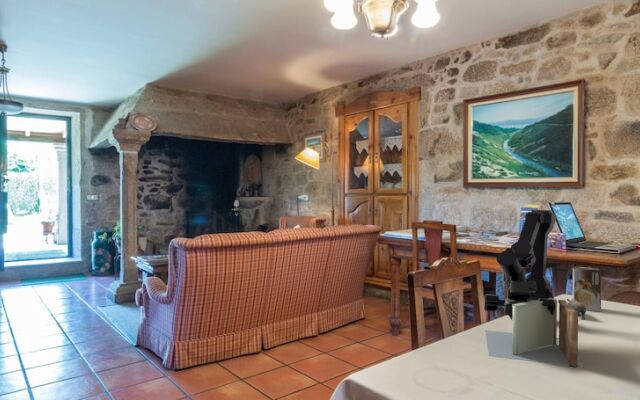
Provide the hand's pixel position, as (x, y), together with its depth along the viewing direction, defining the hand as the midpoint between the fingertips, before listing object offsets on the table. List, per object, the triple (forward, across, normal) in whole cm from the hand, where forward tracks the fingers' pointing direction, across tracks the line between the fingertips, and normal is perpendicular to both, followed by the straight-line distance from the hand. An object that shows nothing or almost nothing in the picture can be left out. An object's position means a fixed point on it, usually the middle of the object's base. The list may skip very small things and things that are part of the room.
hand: (520, 331), depth 117 cm
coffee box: (-36, +30, +47) cm, 67 cm away
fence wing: (+2, +4, +5) cm, 7 cm away
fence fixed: (+4, +11, +4) cm, 13 cm away
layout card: (+1, +2, +7) cm, 7 cm away
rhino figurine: (-27, +24, +38) cm, 53 cm away
